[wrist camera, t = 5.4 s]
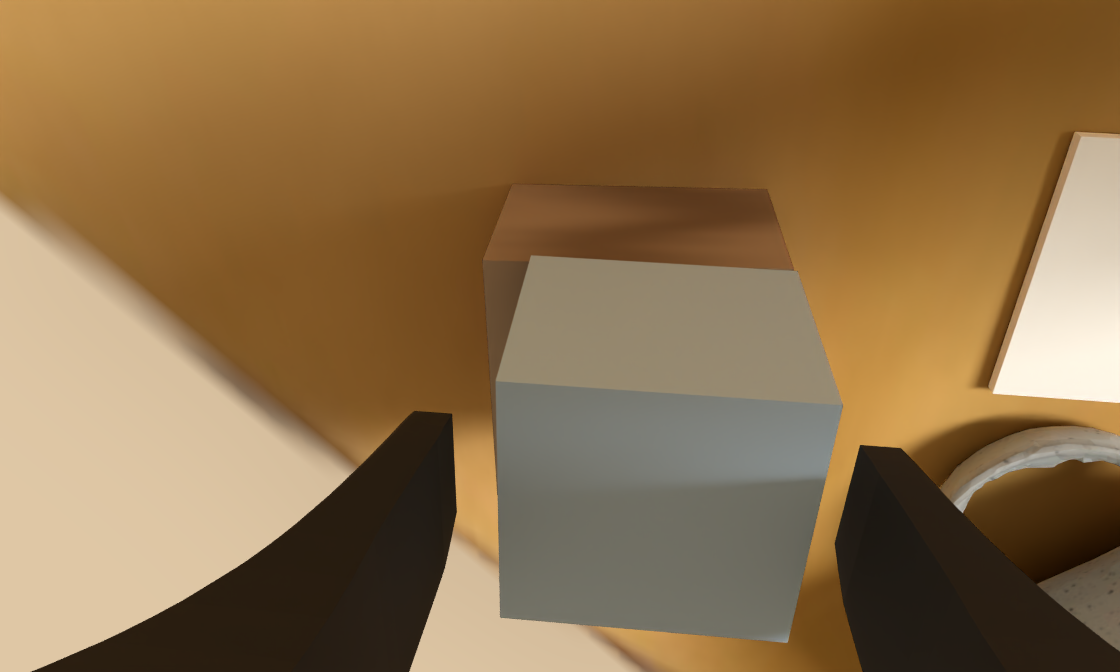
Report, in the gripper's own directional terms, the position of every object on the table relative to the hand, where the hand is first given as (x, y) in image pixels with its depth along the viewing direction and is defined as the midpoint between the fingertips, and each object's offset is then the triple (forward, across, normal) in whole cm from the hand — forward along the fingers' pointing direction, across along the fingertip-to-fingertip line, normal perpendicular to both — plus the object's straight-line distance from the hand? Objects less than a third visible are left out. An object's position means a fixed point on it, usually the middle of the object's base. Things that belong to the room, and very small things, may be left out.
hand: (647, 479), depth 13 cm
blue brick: (+3, 0, 0) cm, 3 cm away
